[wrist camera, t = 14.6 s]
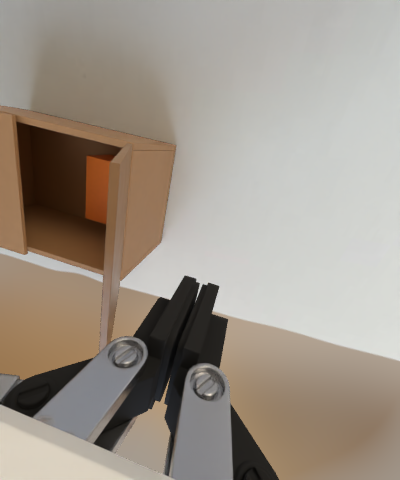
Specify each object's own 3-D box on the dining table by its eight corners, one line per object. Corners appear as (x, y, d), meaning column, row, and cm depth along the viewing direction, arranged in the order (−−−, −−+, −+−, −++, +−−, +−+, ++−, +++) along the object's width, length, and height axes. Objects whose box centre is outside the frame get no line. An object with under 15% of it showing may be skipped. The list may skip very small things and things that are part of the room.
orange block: (106, 209, 29) (85, 218, 25) (109, 154, 27) (86, 155, 23) (140, 219, 28) (123, 229, 25) (147, 163, 26) (129, 166, 22)
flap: (126, 143, 16) (132, 144, 16) (115, 284, 20) (119, 284, 20) (109, 161, 8) (120, 163, 8) (97, 385, 12) (104, 384, 13)
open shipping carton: (176, 145, 25) (128, 142, 16) (160, 242, 30) (116, 285, 20) (29, 110, 27) (-90, 89, 18) (35, 205, 32) (-57, 228, 22)
